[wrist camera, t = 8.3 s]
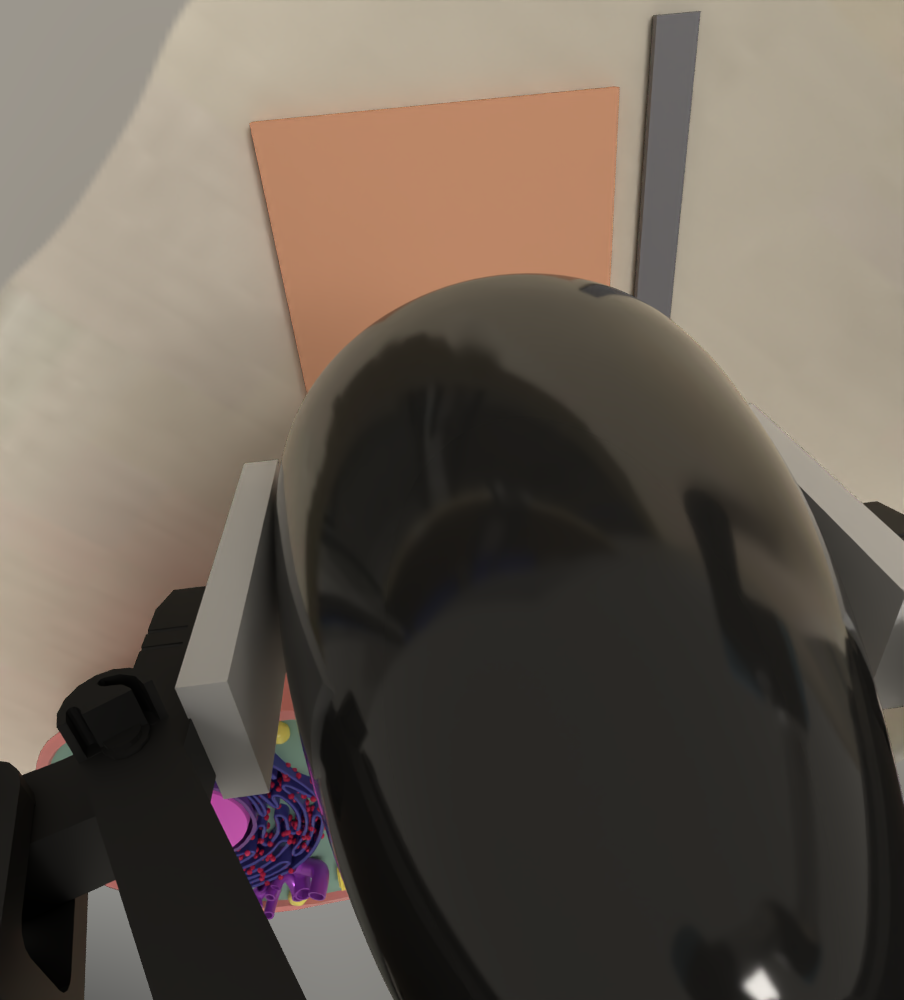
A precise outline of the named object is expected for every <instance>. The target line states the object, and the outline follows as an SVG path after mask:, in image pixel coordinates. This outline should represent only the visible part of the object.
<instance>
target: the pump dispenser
mask: <svg viewBox="0 0 904 1000" xmlns="http://www.w3.org/2000/svg"><path fill="white" fill-rule="evenodd" d="M274 550H275V573H276V589H277V604H278V615H279V625H280V633H281V641H282V649H283V656H284V662H285V669H286V674H287V680H288V685H289V690H290V695H291V700H292V705H293V710H294V715H295V719H296V724H297V728H298V732H299V736H300V741H301V745H302V749H303V753H304V757H305V760H306V764H307V768H308V772H309V775H310V779H311V783H312V786H313V790H314V793H315V797H316V800H317V804H318V807H319V810H320V814H321V817H322V820H323V824H324V827H325V830H326V833H327V837H328V840H329V843H330V846H331V849H332V852H333V855H334V858H335V861H336V863H337V866H338V869H339V872H340V875H341V877H342V880H343V883H344V885H345V888H346V891H347V893H348V896H349V899H350V901H351V904H352V907H353V909H354V912H355V914H356V917H357V919H358V922H359V924H360V927H361V929H362V932H363V934H364V936H365V939H366V942H367V944H368V946H369V949H370V951H371V953H372V955H373V958H374V960H375V962H376V965H377V967H378V969H379V971H380V973H381V975H382V977H383V980H384V982H385V984H386V986H387V988H388V990H389V992H390V994H391V995H392V998H393V999H394V1000H904V801H903V796H902V791H901V786H900V782H899V777H898V773H897V768H896V763H895V759H894V754H893V750H892V746H891V742H890V737H889V733H888V729H887V725H886V721H885V717H884V713H883V710H882V706H881V702H880V699H879V695H878V691H877V688H876V684H875V681H874V677H873V674H872V670H871V667H870V664H869V660H868V657H867V654H866V650H865V647H864V644H863V641H862V638H861V635H860V631H859V628H858V625H857V622H856V619H855V616H854V614H853V611H852V608H851V605H850V602H849V599H848V597H847V594H846V591H845V589H844V586H843V583H842V580H841V578H840V575H839V573H838V570H837V567H836V565H835V563H834V560H833V558H832V555H831V553H830V550H829V548H828V546H827V543H826V541H825V539H824V537H823V534H822V532H821V530H820V528H819V526H818V523H817V521H816V519H815V517H814V515H813V513H812V511H811V509H810V507H809V505H808V503H807V501H806V499H805V497H804V495H803V493H802V491H801V489H800V487H799V485H798V484H797V482H796V480H795V478H794V476H793V475H792V473H791V471H790V469H789V468H788V466H787V464H786V462H785V461H784V459H783V457H782V456H781V454H780V452H779V451H778V449H777V448H776V446H775V444H774V443H773V441H772V440H771V438H770V437H769V435H768V434H767V432H766V430H765V429H764V427H763V426H762V424H761V423H760V421H759V420H758V418H757V417H756V415H755V414H754V412H753V411H752V410H751V408H750V407H749V405H748V404H747V402H746V401H745V399H744V398H743V397H742V395H741V394H740V392H739V391H738V390H737V388H736V387H735V385H734V384H733V383H732V382H731V380H730V379H729V378H728V376H727V375H726V374H725V372H724V371H723V370H722V369H721V368H720V366H719V365H718V364H717V363H716V362H715V361H714V359H713V358H712V357H711V356H710V355H709V354H708V353H707V352H706V351H705V350H704V349H703V348H702V347H701V346H700V345H699V344H698V343H697V342H696V341H695V340H694V339H693V338H692V337H691V336H690V335H689V334H687V333H686V332H685V331H684V330H683V329H682V328H681V327H679V326H678V325H677V324H676V323H674V322H673V321H672V320H671V319H669V318H668V317H667V316H665V315H664V314H662V313H661V312H660V311H658V310H657V309H655V308H653V307H652V306H650V305H649V304H647V303H645V302H643V301H641V300H640V299H638V298H636V297H634V296H632V295H629V294H627V293H625V292H623V291H620V290H618V289H615V288H613V287H610V286H607V285H604V284H601V283H597V282H594V281H590V280H586V279H581V278H577V277H571V276H565V275H556V274H543V273H515V274H502V275H494V276H487V277H481V278H476V279H471V280H467V281H463V282H459V283H456V284H452V285H449V286H446V287H443V288H440V289H437V290H434V291H432V292H429V293H427V294H424V295H422V296H420V297H418V298H416V299H413V300H411V301H409V302H407V303H405V304H403V305H402V306H400V307H398V308H396V309H394V310H393V311H391V312H389V313H388V314H386V315H384V316H383V317H381V318H380V319H378V320H377V321H375V322H374V323H373V324H371V325H370V326H369V327H367V328H366V329H365V330H363V331H362V332H361V333H360V334H358V335H357V336H356V337H355V338H354V339H353V340H351V341H350V342H349V343H348V344H347V345H346V346H345V347H344V348H343V349H342V350H341V351H340V352H339V353H338V354H337V355H336V356H335V357H334V358H333V360H332V361H331V362H330V363H329V364H328V365H327V367H326V368H325V369H324V370H323V372H322V373H321V374H320V375H319V377H318V378H317V380H316V381H315V382H314V384H313V385H312V387H311V389H310V390H309V392H308V393H307V395H306V397H305V398H304V400H303V402H302V404H301V406H300V408H299V410H298V412H297V414H296V417H295V419H294V421H293V424H292V426H291V429H290V432H289V434H288V438H287V441H286V444H285V448H284V452H283V456H282V460H281V465H280V470H279V476H278V482H277V490H276V499H275V514H274Z"/></svg>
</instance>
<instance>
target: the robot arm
mask: <svg viewBox="0 0 904 1000" xmlns="http://www.w3.org/2000/svg"><path fill="white" fill-rule="evenodd" d="M748 405H749V407H750V408H751V410H752V411H753V412H754V414H755V415H756V417H757V418H758V420H759V421H760V423H761V424H762V426H763V427H764V429H765V430H766V432H767V434H768V435H769V437H770V438H771V440H772V441H773V443H774V444H775V446H776V448H777V449H778V451H779V452H780V454H781V456H782V457H783V459H784V461H785V462H786V464H787V466H788V468H789V469H790V471H791V473H792V475H793V476H794V478H795V480H796V482H797V484H798V485H799V487H800V489H801V491H802V493H803V495H804V497H805V499H806V501H807V503H808V505H809V507H810V509H811V511H812V513H813V515H814V517H815V519H816V521H817V523H818V526H819V528H820V530H821V532H822V534H823V537H824V539H825V541H826V543H827V546H828V548H829V550H830V553H831V555H832V558H833V560H834V563H835V565H836V567H837V570H838V573H839V575H840V578H841V580H842V583H843V586H844V589H845V591H846V594H847V597H848V599H849V602H850V605H851V608H852V611H853V614H854V616H855V619H856V622H857V625H858V628H859V631H860V635H861V638H862V641H863V644H864V647H865V650H866V654H867V657H868V660H869V664H870V667H871V670H872V674H873V677H874V681H875V684H876V688H877V691H878V695H879V699H880V702H881V706H882V710H883V709H890V708H897V707H903V706H904V515H903V514H901V513H899V512H897V511H895V510H893V509H891V508H889V507H887V506H885V505H883V504H881V503H879V502H868V503H862V502H860V501H859V500H858V499H857V498H856V497H855V496H854V495H853V494H852V493H851V492H850V491H848V490H847V489H846V488H845V487H844V486H843V485H842V484H841V483H840V482H839V481H838V480H836V479H835V478H834V477H833V476H832V475H831V474H830V473H829V472H828V471H827V470H826V469H824V468H823V467H822V466H821V465H820V464H819V463H818V462H817V461H816V460H815V459H813V458H812V457H811V456H810V455H809V454H808V453H807V452H806V451H805V450H804V449H803V448H801V447H800V446H799V445H798V444H797V443H796V442H795V441H794V440H793V439H792V438H791V437H789V436H788V435H787V434H786V433H785V432H784V431H783V430H782V429H781V428H780V427H778V426H777V425H776V424H775V423H774V422H773V421H772V420H771V419H770V418H769V417H768V416H766V415H765V414H764V413H763V412H762V411H761V410H760V409H759V408H758V407H757V406H756V405H754V404H748ZM279 470H280V466H279V462H278V459H277V460H268V461H259V462H251V463H244V465H243V469H242V472H241V475H240V478H239V482H238V485H237V488H236V491H235V495H234V498H233V501H232V504H231V507H230V511H229V514H228V517H227V520H226V524H225V527H224V530H223V533H222V537H221V540H220V543H219V546H218V550H217V553H216V556H215V559H214V563H213V566H212V569H211V572H210V576H209V579H208V582H207V585H206V586H203V587H195V588H187V589H179V590H173V591H172V593H171V594H170V595H169V596H168V597H167V598H166V599H165V600H164V601H163V602H162V603H161V605H160V606H159V607H158V608H157V609H156V611H155V613H154V616H153V618H152V621H151V624H150V626H149V629H148V634H146V637H145V639H144V642H143V644H142V651H140V652H139V655H138V657H137V660H136V662H135V665H134V668H123V669H113V670H110V671H107V672H104V673H102V674H99V675H96V676H94V677H92V678H91V679H89V680H87V681H86V682H84V683H83V684H81V685H79V686H78V687H77V688H76V689H75V690H74V691H73V692H72V693H71V694H70V695H69V696H68V697H67V698H66V699H65V700H64V702H63V704H62V706H61V707H60V709H59V711H58V713H57V728H58V730H59V732H60V733H61V735H62V737H63V738H64V740H65V742H66V743H67V745H68V747H69V748H70V750H71V751H72V753H73V755H71V756H69V757H67V758H65V759H63V760H60V761H58V762H55V763H52V764H50V765H47V766H45V767H42V768H40V769H37V770H34V771H32V772H29V773H27V774H24V775H21V773H20V772H19V771H18V770H17V769H16V768H15V767H14V766H13V765H12V764H10V763H9V762H2V761H0V1000H84V988H85V961H86V960H85V959H86V933H87V906H88V905H87V904H88V892H90V891H92V890H95V889H97V888H99V887H101V886H103V885H106V884H108V883H110V882H112V881H115V880H116V883H117V886H118V889H119V892H120V896H121V899H122V902H123V905H124V908H125V911H126V914H127V918H128V921H129V924H130V927H131V930H132V933H133V937H134V940H135V943H136V946H137V949H138V953H139V956H140V959H141V962H142V965H143V969H144V972H145V975H146V978H147V981H148V984H149V988H150V991H151V994H152V997H153V1000H306V998H305V996H304V994H303V991H302V989H301V987H300V985H299V983H298V981H297V979H296V977H295V975H294V973H293V971H292V969H291V967H290V965H289V963H288V961H287V958H286V956H285V955H284V952H283V951H282V948H281V946H280V944H279V942H278V940H277V938H276V936H275V934H274V932H273V930H272V928H271V926H270V924H269V921H268V919H267V917H266V915H265V913H264V911H263V909H262V907H261V905H260V903H259V901H258V899H257V897H256V895H255V893H254V891H253V888H252V886H251V884H250V882H249V880H248V878H247V876H246V874H245V872H244V870H243V868H242V866H241V864H240V862H239V860H238V858H237V856H236V853H235V851H234V849H233V847H232V845H231V843H230V841H229V839H228V837H227V835H226V833H225V831H224V829H223V827H222V825H221V823H220V821H219V818H218V816H217V814H216V812H215V810H214V808H213V806H212V804H211V798H212V793H213V788H214V784H215V781H216V783H217V785H218V787H219V790H220V792H221V794H222V796H223V799H229V798H237V797H244V796H251V795H258V794H266V793H269V791H270V784H271V776H272V769H273V762H274V754H275V747H276V740H277V733H278V725H279V718H280V711H281V703H282V696H283V689H284V681H285V674H286V669H285V662H284V656H283V649H282V641H281V633H280V625H279V615H278V604H277V589H276V573H275V550H274V514H275V499H276V490H277V482H278V476H279Z"/></svg>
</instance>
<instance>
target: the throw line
mask: <svg viewBox="0 0 904 1000" xmlns="http://www.w3.org/2000/svg"><path fill="white" fill-rule="evenodd" d="M699 21H700V11H696V12H685V13H674V14H664V15H654V16H653V27H652V41H651V56H650V70H649V85H648V100H647V114H646V129H645V143H644V158H643V173H642V187H641V202H640V216H639V231H638V246H637V260H636V275H635V289H634V297H636V298H638V299H640V300H641V301H643V302H645V303H647V304H649V305H650V306H652V307H653V308H655V309H657V310H658V311H660V312H661V313H662V314H664V315H665V316H667V317H668V318H669V319H670V313H671V303H672V293H673V283H674V273H675V263H676V253H677V243H678V233H679V223H680V213H681V202H682V192H683V182H684V172H685V162H686V152H687V142H688V132H689V122H690V112H691V102H692V92H693V82H694V72H695V62H696V51H697V41H698V31H699Z"/></svg>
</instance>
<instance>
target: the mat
mask: <svg viewBox="0 0 904 1000" xmlns="http://www.w3.org/2000/svg"><path fill="white" fill-rule="evenodd" d="M618 108H619V87H606V88H595V89H585V90H575V91H564V92H554V93H544V94H534V95H523V96H513V97H503V98H492V99H482V100H472V101H462V102H451V103H441V104H431V105H420V106H410V107H400V108H390V109H379V110H369V111H359V112H348V113H338V114H328V115H318V116H307V117H297V118H287V119H276V120H266V121H256V122H251V123H250V128H251V133H252V137H253V142H254V147H255V151H256V156H257V161H258V166H259V170H260V175H261V180H262V184H263V189H264V194H265V199H266V203H267V208H268V213H269V217H270V222H271V227H272V231H273V236H274V241H275V246H276V250H277V255H278V260H279V264H280V269H281V274H282V279H283V283H284V288H285V293H286V297H287V302H288V307H289V311H290V316H291V321H292V326H293V330H294V335H295V340H296V344H297V349H298V354H299V359H300V363H301V368H302V373H303V377H304V382H305V387H306V391H307V393H308V392H309V390H310V389H311V387H312V385H313V384H314V382H315V381H316V380H317V378H318V377H319V375H320V374H321V373H322V372H323V370H324V369H325V368H326V367H327V365H328V364H329V363H330V362H331V361H332V360H333V358H334V357H335V356H336V355H337V354H338V353H339V352H340V351H341V350H342V349H343V348H344V347H345V346H346V345H347V344H348V343H349V342H350V341H351V340H353V339H354V338H355V337H356V336H357V335H358V334H360V333H361V332H362V331H363V330H365V329H366V328H367V327H369V326H370V325H371V324H373V323H374V322H375V321H377V320H378V319H380V318H381V317H383V316H384V315H386V314H388V313H389V312H391V311H393V310H394V309H396V308H398V307H400V306H402V305H403V304H405V303H407V302H409V301H411V300H413V299H416V298H418V297H420V296H422V295H424V294H427V293H429V292H432V291H434V290H437V289H440V288H443V287H446V286H449V285H452V284H456V283H459V282H463V281H467V280H471V279H476V278H481V277H487V276H494V275H502V274H515V273H543V274H556V275H565V276H571V277H577V278H581V279H586V280H590V281H594V282H597V283H601V284H604V285H607V286H610V273H611V252H612V231H613V211H614V190H615V170H616V149H617V128H618Z"/></svg>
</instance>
